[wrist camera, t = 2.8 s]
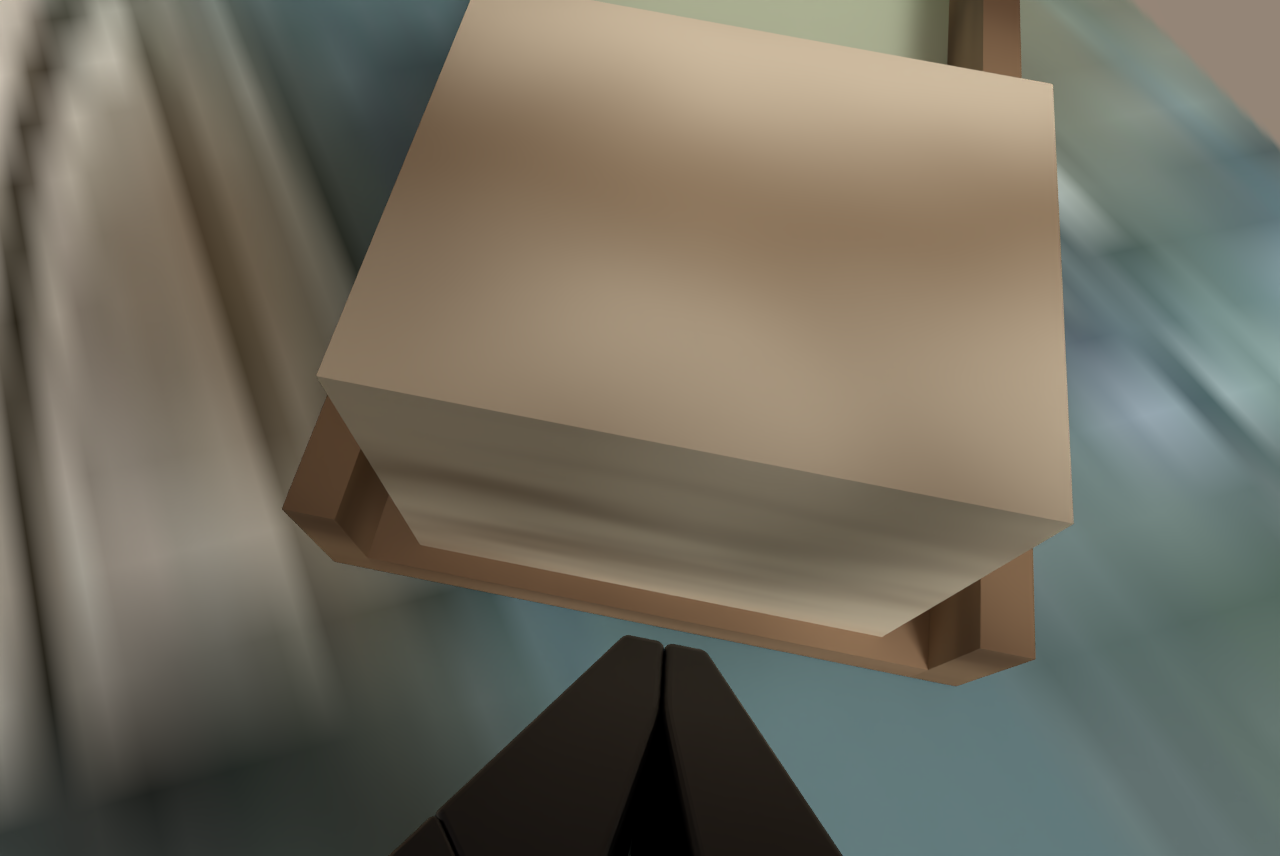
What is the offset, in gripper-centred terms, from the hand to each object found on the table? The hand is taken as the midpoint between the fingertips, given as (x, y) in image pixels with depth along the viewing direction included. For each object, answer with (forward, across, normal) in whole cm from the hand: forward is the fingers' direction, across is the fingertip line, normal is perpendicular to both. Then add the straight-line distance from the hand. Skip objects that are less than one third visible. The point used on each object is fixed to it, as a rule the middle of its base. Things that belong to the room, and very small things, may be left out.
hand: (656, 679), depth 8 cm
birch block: (+11, 0, +1) cm, 11 cm away
